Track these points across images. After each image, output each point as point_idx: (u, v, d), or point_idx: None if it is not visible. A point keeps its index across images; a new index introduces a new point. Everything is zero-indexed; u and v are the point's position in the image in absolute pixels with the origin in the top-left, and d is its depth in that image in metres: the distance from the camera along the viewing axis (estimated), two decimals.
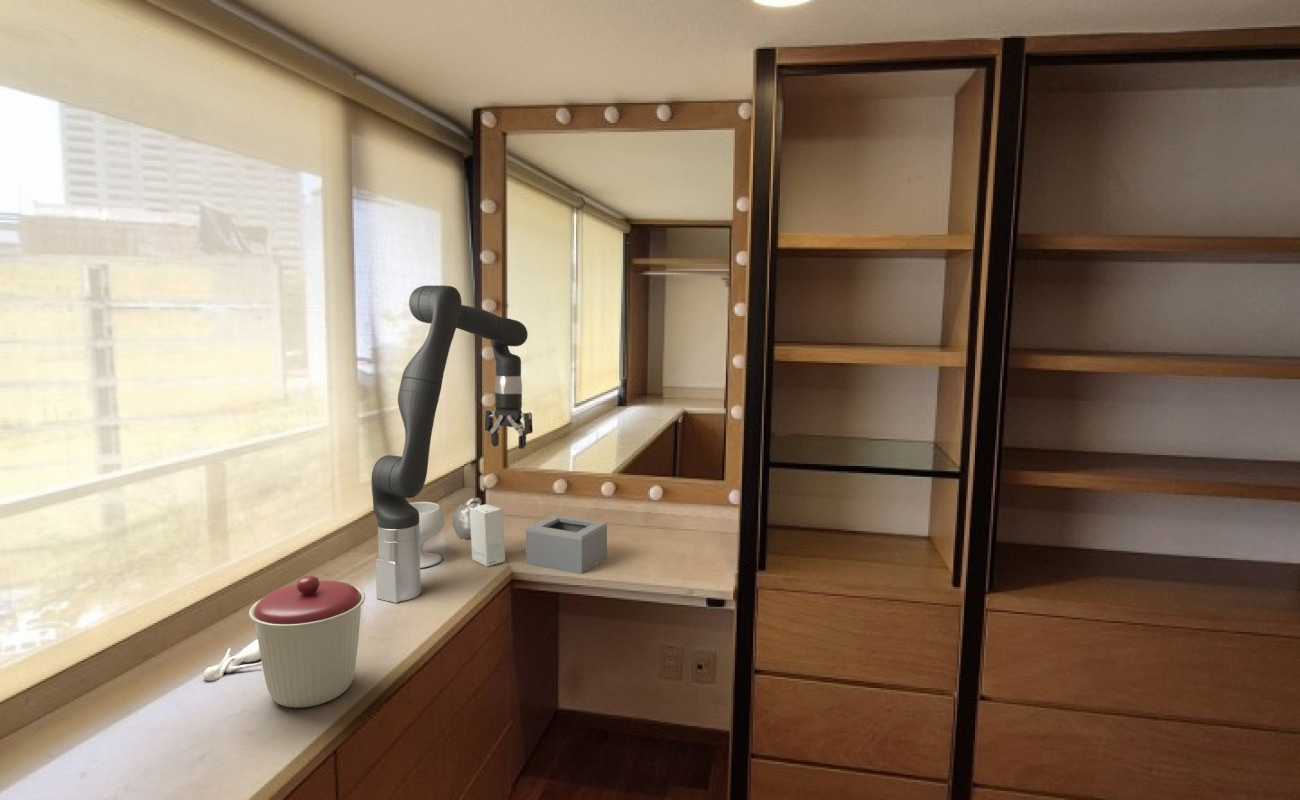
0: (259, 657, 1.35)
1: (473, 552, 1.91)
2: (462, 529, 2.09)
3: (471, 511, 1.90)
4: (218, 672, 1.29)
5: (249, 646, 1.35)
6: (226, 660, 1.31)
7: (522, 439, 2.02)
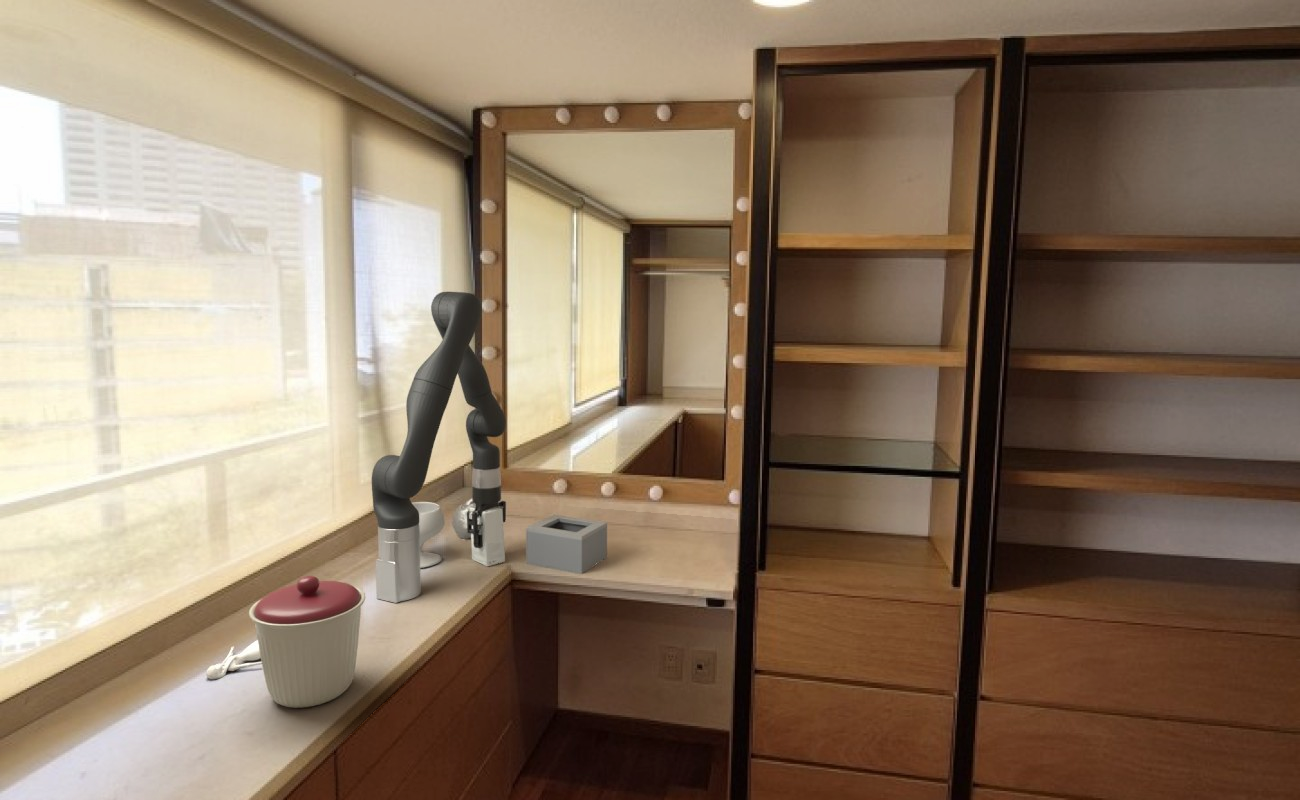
0: None
1: (473, 552, 1.91)
2: (462, 529, 2.09)
3: None
4: (221, 670, 1.29)
5: (252, 645, 1.36)
6: (229, 659, 1.31)
7: None
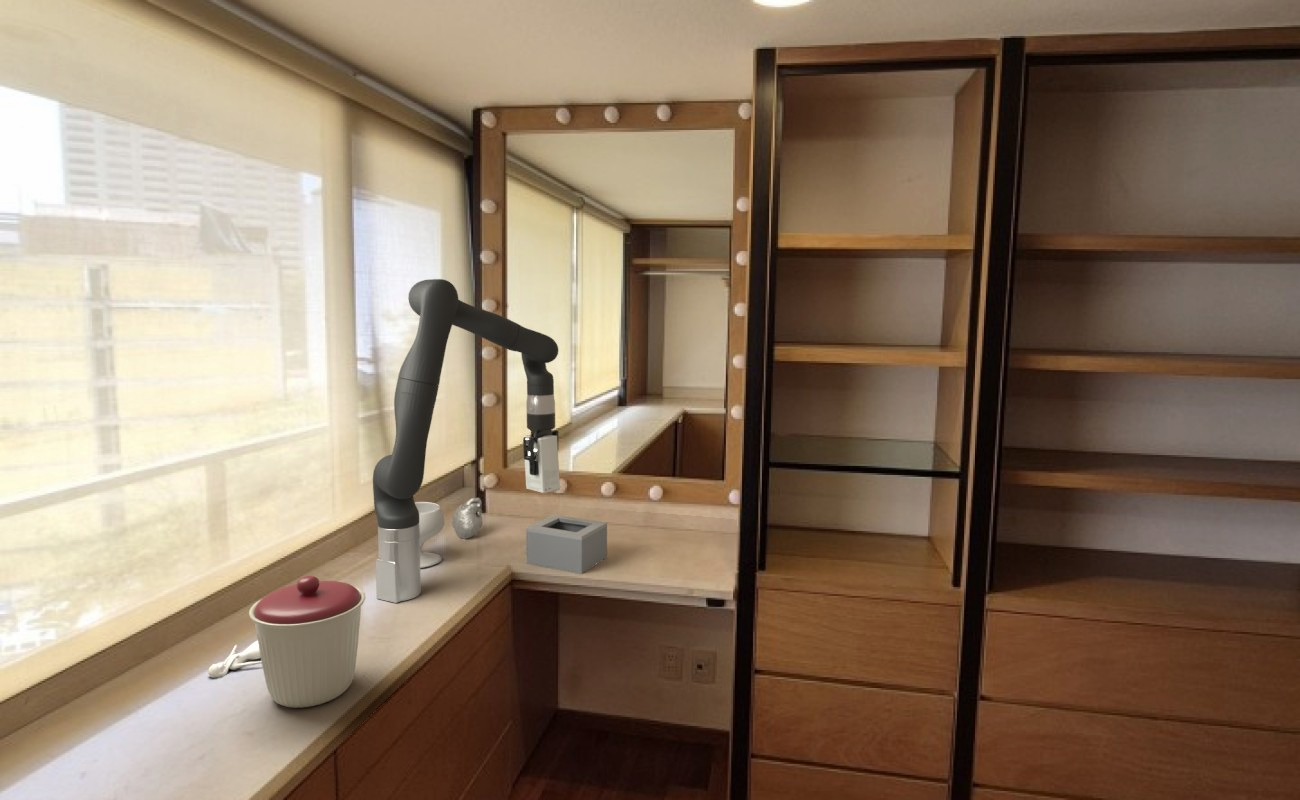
0: None
1: (527, 481, 1.90)
2: (462, 529, 2.09)
3: None
4: (223, 669, 1.30)
5: (254, 643, 1.36)
6: (231, 657, 1.32)
7: None
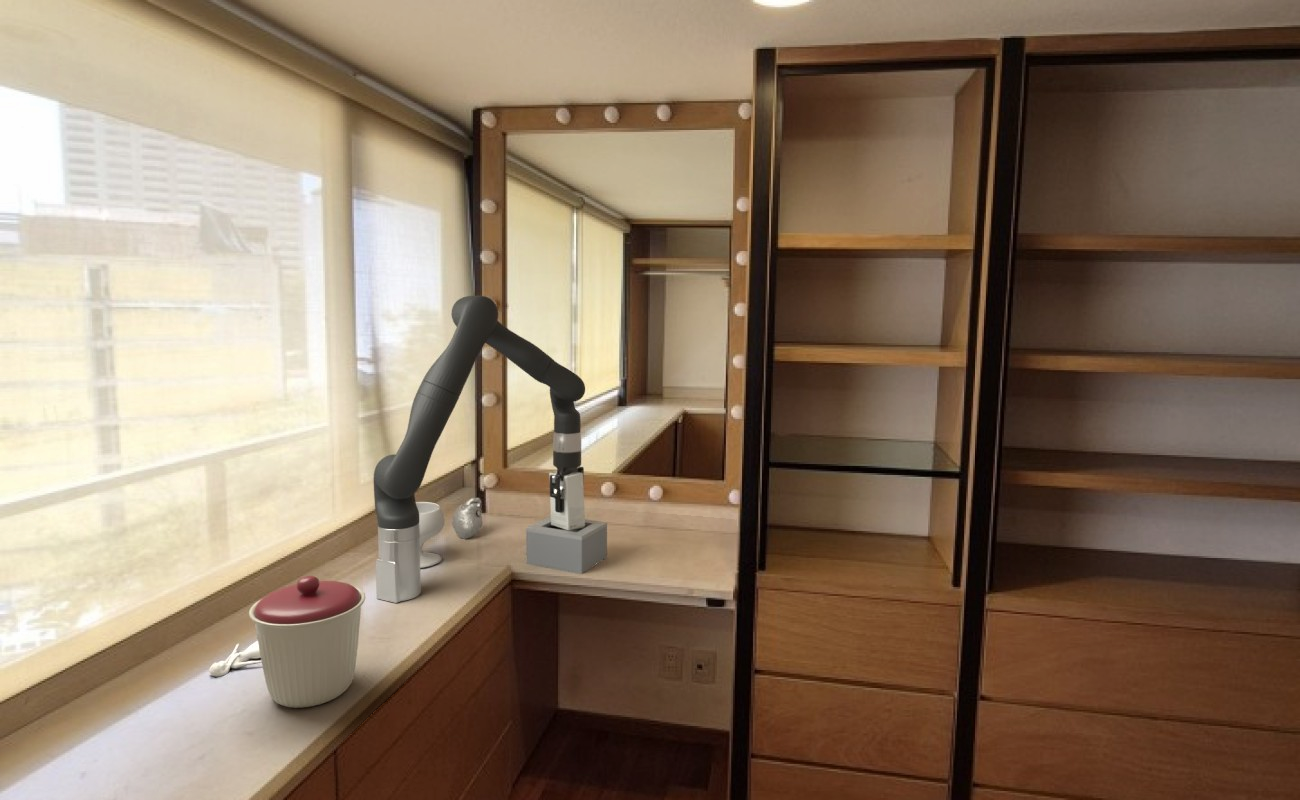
0: None
1: (553, 517, 1.91)
2: (462, 529, 2.09)
3: None
4: (224, 668, 1.30)
5: (256, 643, 1.36)
6: (232, 656, 1.32)
7: None
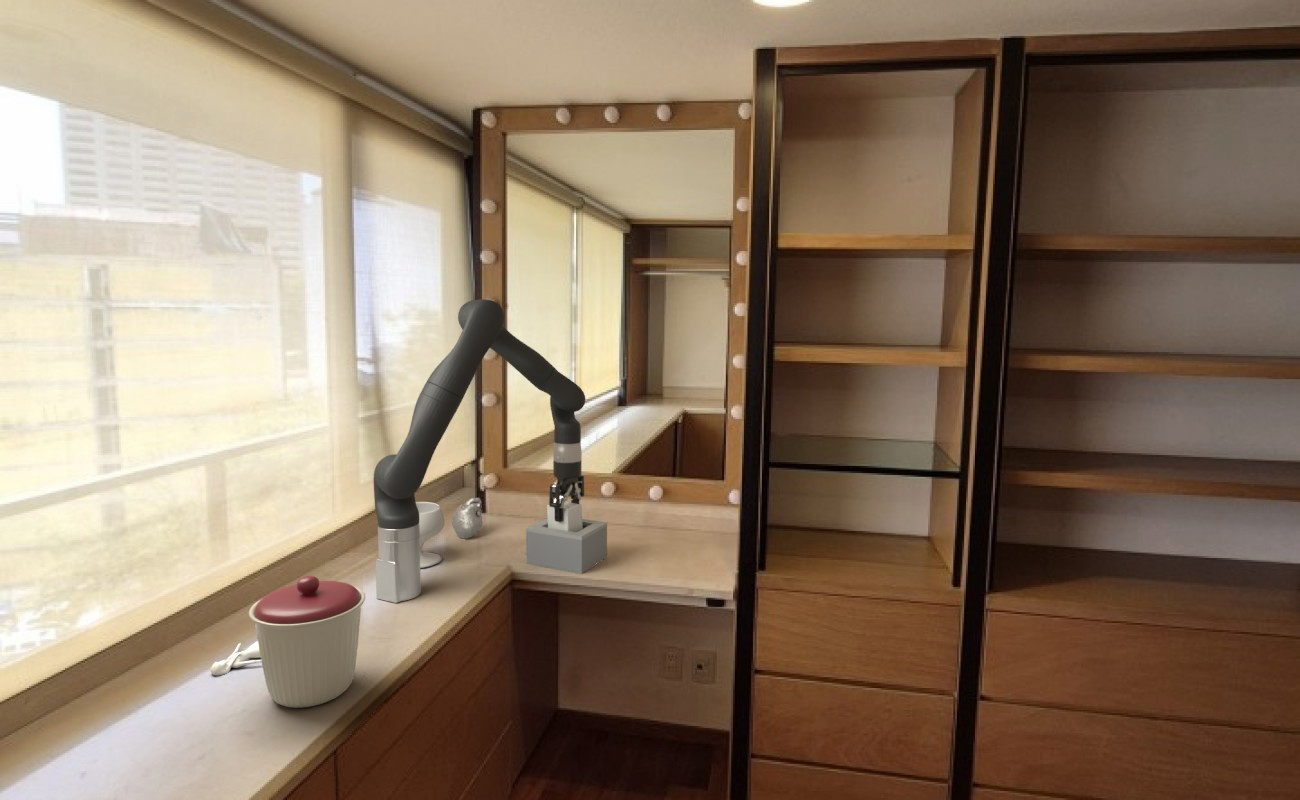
0: None
1: None
2: (462, 529, 2.09)
3: (549, 508, 1.90)
4: (225, 667, 1.30)
5: (257, 642, 1.37)
6: (234, 655, 1.33)
7: (578, 503, 1.95)
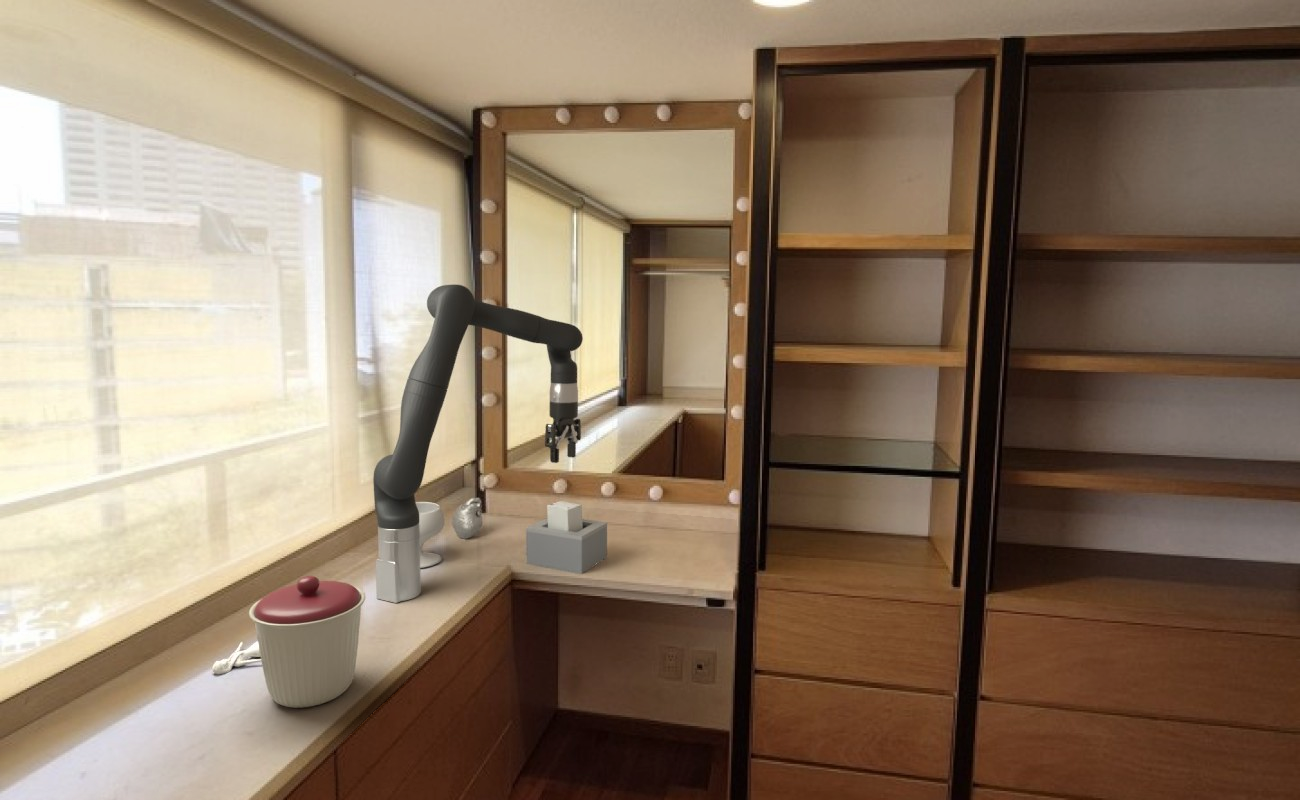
0: None
1: None
2: (462, 529, 2.09)
3: (549, 508, 1.90)
4: (226, 666, 1.31)
5: None
6: (235, 654, 1.33)
7: None
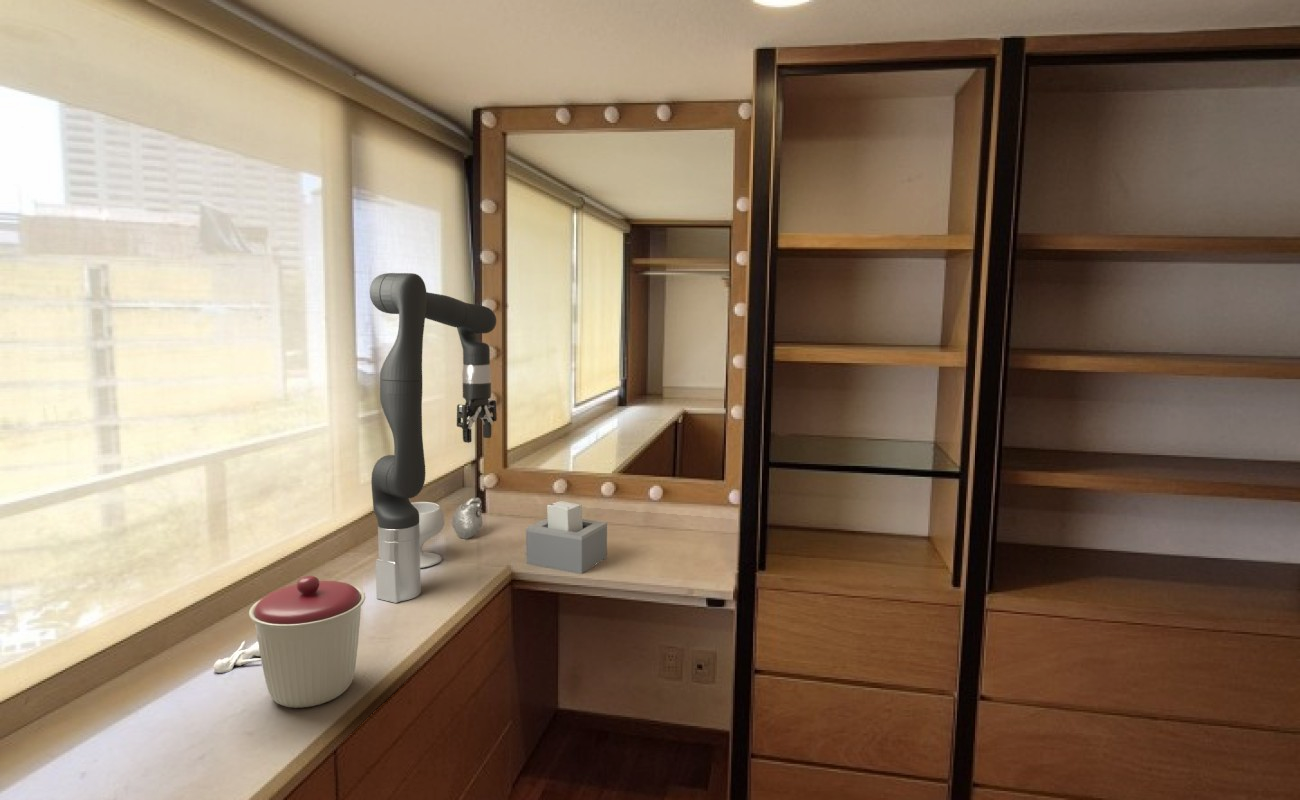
0: None
1: None
2: (462, 529, 2.09)
3: (549, 508, 1.90)
4: (228, 665, 1.31)
5: None
6: (237, 653, 1.34)
7: (490, 427, 1.98)
